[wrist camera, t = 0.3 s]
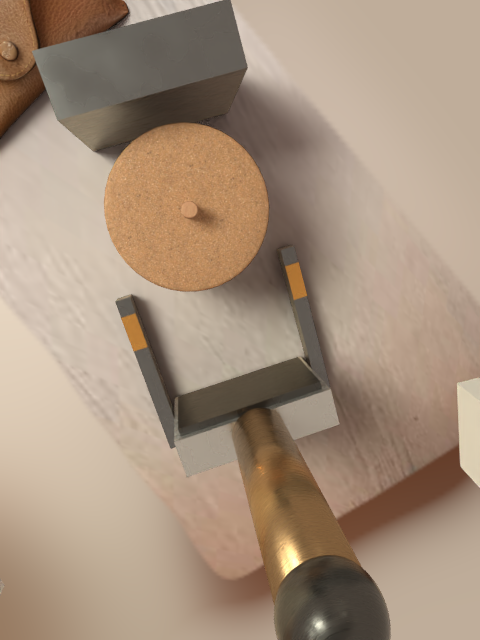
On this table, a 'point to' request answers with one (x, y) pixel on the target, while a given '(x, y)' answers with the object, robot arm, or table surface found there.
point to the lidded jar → (186, 206)
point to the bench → (159, 124)
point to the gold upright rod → (284, 497)
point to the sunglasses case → (42, 43)
